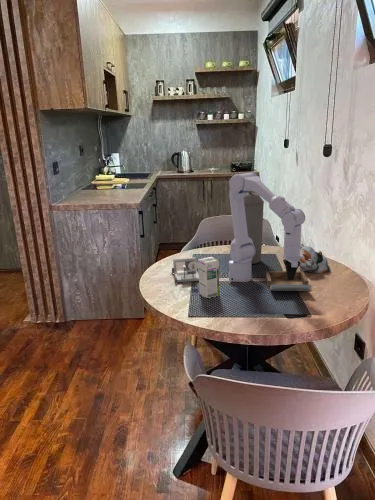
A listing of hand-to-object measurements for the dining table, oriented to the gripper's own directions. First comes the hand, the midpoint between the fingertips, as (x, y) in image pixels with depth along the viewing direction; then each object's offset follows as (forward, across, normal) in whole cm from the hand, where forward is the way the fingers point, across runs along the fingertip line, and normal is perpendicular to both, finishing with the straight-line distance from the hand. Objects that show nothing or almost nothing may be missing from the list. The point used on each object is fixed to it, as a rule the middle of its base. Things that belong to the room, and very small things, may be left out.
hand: (290, 279), depth 140 cm
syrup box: (+7, 0, +30) cm, 31 cm away
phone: (+7, -10, +2) cm, 12 cm away
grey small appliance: (+8, +18, +40) cm, 45 cm away
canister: (+7, +42, +13) cm, 44 cm away
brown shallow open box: (+7, +10, 0) cm, 12 cm away
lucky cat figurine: (+7, +28, -14) cm, 31 cm away
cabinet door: (+6, +4, 0) cm, 7 cm away
